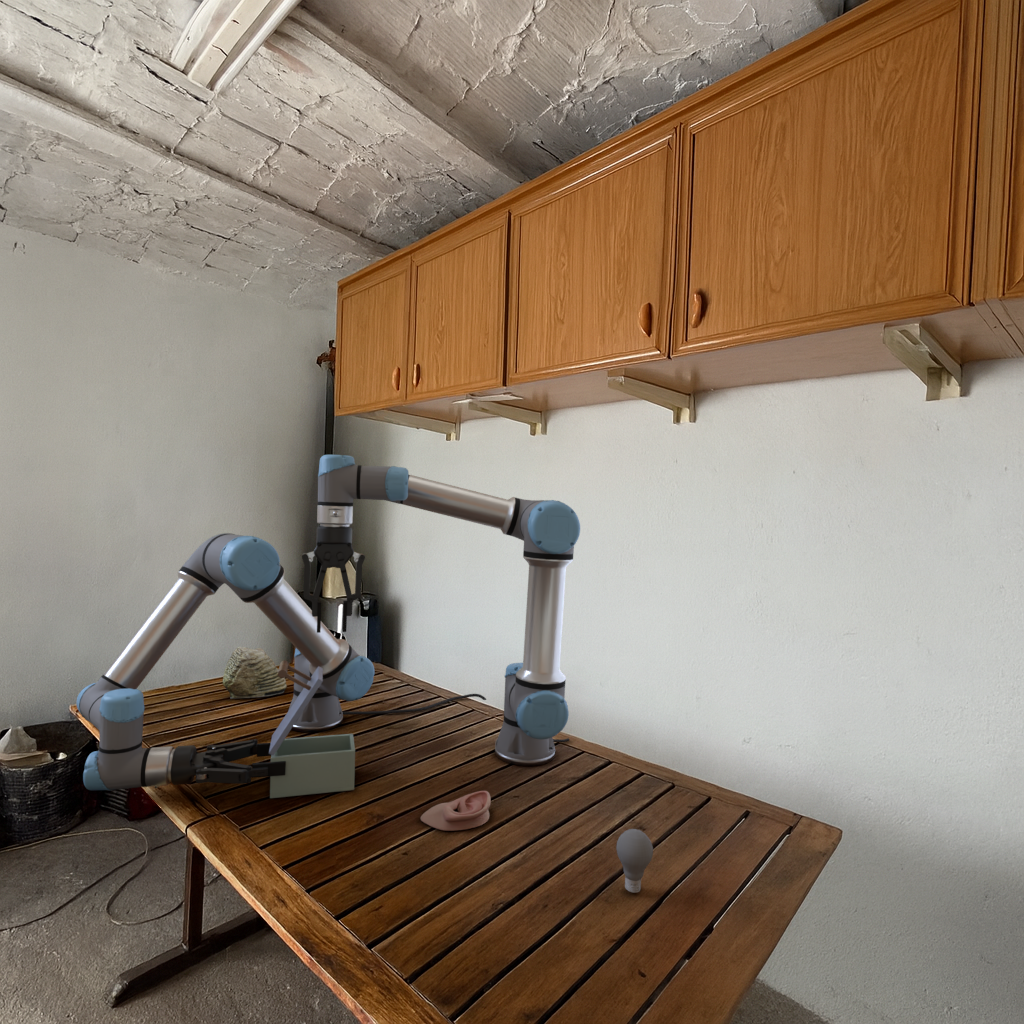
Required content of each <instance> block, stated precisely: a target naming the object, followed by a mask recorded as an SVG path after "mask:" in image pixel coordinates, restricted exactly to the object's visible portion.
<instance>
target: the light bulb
mask: <svg viewBox="0 0 1024 1024" xmlns="http://www.w3.org/2000/svg"><path fill="white" fill-rule="evenodd" d="M615 849H616V854H617V857H618V859H619V861H620V863H621V865H622V867H623V873H624V874H623V875H624V876H625V878H624V888H625V890H627V891H628V892H630V893H634V894H635V893H639V892H640V891H641V889H642V887H641V886H642V879H643V877H644V875H645V871H646V868H647V867H648V866H649V864H650V863H651V861H652V859H653V855H654V847H653V843H652V841H651V838H649V836H648V835H647V834H646V833H645V832H643V831H642V830H641V829H636V828H629V829H627V830H625V831H623V832H622V833H621V834H620V835H619V837H618V839H617V841H616V847H615Z"/></svg>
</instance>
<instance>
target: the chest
mask: <svg viewBox="0 0 1024 1024" xmlns="http://www.w3.org/2000/svg"><path fill="white" fill-rule="evenodd" d="M355 747H356V746H355V739H354V733H343V734H329V735H317V736H303V737H292V738H291V737H289V738H285V739H284V741H283V742H282V744H281V745H280V747H279V748H278V750H277V751H276V753H275V754H274V756H272V755H271V756H270V762H279V761H286V769H285V775H282V776H269V779H270V780H269V799H278V798H286V797H288V798H289V797H296V796H307V795H316V794H327V793H337V792H346V791H347V792H348V791H355V778H356V777H355V776H356V748H355Z"/></svg>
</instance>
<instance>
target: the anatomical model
mask: <svg viewBox="0 0 1024 1024" xmlns="http://www.w3.org/2000/svg"><path fill="white" fill-rule="evenodd" d="M491 799H492V798H491V793H490V792H489V791H488V790H478V791H475V792H472V793H468V794H465V795H463V796H461V797H459V798H457V799H455V800H451V801H449V802H441V803H438V804H436V805H434V806H432V807H430V808H429V809H427V810H426V811H425V812H424V813H423V814H421V816H420V817H419V818H420V821H421V822H423V823H424V824H426V825H428V826H429V827H431V828H434V829H437V830H440V831H443V832H445V831H446V832H449V831H450V832H452V831H464V830H469V829H474V828H477V827H480V826H482V825H485V824H486V823H487V822H488V821H489V820H490V810H489V809H490V807H491V803H492V801H491Z"/></svg>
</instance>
